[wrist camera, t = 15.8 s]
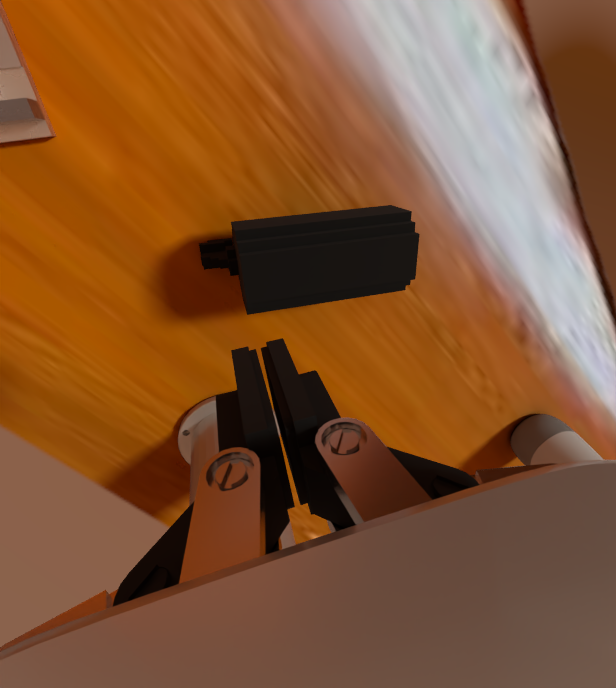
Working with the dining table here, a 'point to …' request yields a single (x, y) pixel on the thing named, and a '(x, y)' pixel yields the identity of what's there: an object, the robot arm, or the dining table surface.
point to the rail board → (18, 92)
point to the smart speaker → (549, 442)
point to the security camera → (318, 256)
